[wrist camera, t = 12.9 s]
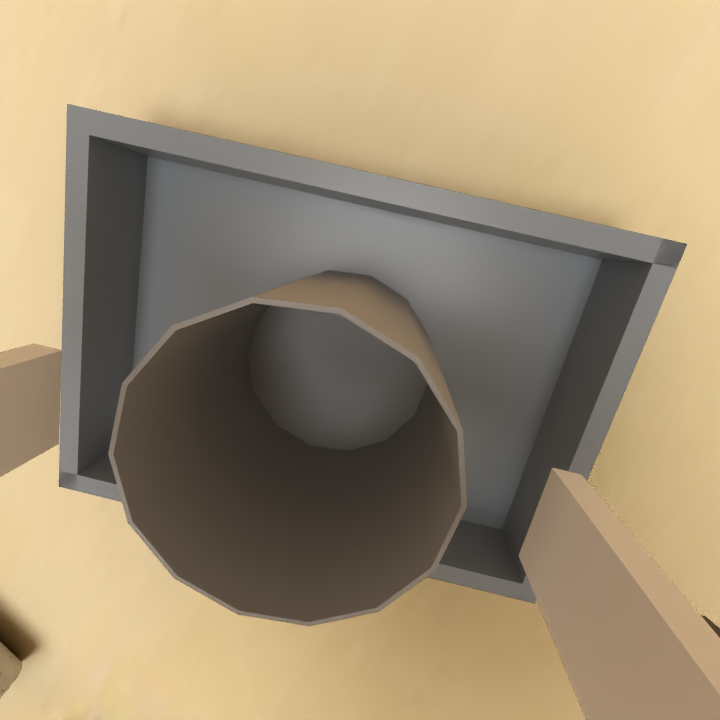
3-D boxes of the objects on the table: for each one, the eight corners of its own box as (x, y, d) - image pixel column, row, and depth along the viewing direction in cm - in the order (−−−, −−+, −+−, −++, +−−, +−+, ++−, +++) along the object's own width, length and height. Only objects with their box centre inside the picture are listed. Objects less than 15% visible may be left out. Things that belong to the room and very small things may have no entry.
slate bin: (507, 533, 22) (534, 603, 18) (123, 440, 22) (58, 486, 18) (616, 244, 18) (687, 243, 14) (144, 137, 18) (67, 103, 14)
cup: (468, 339, 18) (547, 440, 9) (368, 475, 21) (345, 675, 11) (305, 233, 18) (201, 218, 8) (220, 385, 20) (59, 513, 10)
